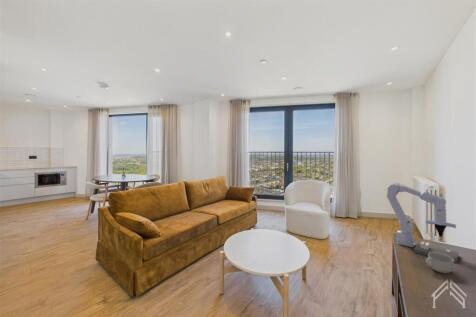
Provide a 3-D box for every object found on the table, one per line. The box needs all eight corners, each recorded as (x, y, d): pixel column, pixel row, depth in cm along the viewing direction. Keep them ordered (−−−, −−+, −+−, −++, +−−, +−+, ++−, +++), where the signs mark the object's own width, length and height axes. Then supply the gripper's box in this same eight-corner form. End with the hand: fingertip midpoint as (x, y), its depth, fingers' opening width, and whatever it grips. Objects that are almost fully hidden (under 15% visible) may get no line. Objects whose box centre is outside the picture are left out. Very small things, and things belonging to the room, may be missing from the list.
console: (414, 252, 146) (413, 248, 145) (418, 246, 153) (417, 243, 153) (456, 262, 130) (456, 258, 130) (458, 255, 138) (458, 251, 138)
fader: (420, 248, 146) (420, 243, 146) (422, 245, 149) (421, 241, 149) (428, 249, 143) (428, 245, 143) (429, 247, 146) (429, 242, 146)
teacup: (443, 265, 128) (442, 252, 128) (460, 275, 117) (459, 261, 117) (417, 265, 129) (417, 252, 129) (432, 275, 118) (431, 261, 118)
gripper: (424, 215, 147) (425, 235, 147) (454, 219, 136) (455, 241, 136) (426, 212, 151) (427, 232, 152) (456, 216, 140) (456, 237, 140)
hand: (440, 236), depth 144 cm, fingers closed
